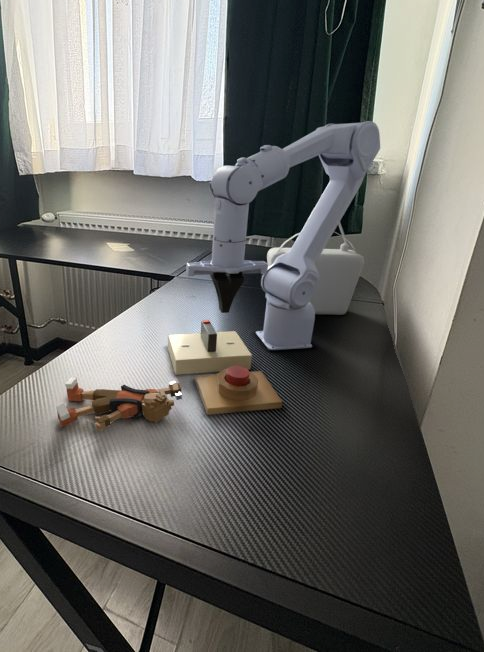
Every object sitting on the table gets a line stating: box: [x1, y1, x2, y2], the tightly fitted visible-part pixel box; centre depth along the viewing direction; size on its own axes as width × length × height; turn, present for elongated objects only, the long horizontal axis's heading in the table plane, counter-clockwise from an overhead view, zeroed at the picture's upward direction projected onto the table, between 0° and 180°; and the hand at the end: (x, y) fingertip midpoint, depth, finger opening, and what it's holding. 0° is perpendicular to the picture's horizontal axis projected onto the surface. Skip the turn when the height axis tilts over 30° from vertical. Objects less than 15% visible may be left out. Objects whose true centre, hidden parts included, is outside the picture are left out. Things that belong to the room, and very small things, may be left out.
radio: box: [266, 221, 365, 316], centre depth 92 cm, size 22×8×25 cm, turn 88°
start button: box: [226, 366, 250, 386], centre depth 61 cm, size 4×4×2 cm
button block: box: [194, 369, 283, 416], centre depth 61 cm, size 12×9×3 cm
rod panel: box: [167, 330, 253, 376], centre depth 72 cm, size 14×10×3 cm
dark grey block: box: [200, 319, 217, 352], centre depth 71 cm, size 6×2×4 cm, turn 9°
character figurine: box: [56, 376, 183, 432], centre depth 56 cm, size 12×5×18 cm
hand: (224, 310), depth 71 cm, fingers closed
